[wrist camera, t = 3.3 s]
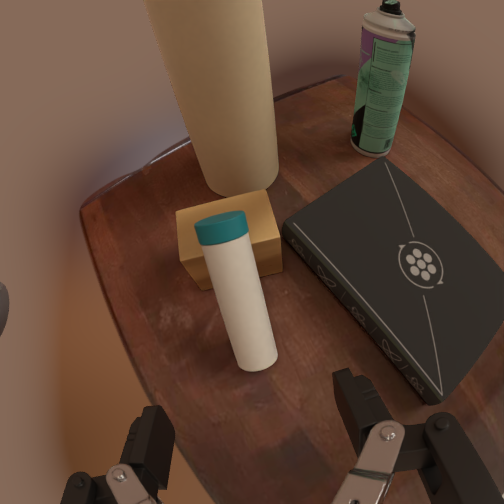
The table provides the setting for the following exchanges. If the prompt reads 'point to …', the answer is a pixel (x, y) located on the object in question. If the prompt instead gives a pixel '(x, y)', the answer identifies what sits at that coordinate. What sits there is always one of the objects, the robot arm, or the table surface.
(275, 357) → the vial
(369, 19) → the spray can
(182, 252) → the prop block
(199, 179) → the table surface
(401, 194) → the book
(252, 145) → the pedestal
